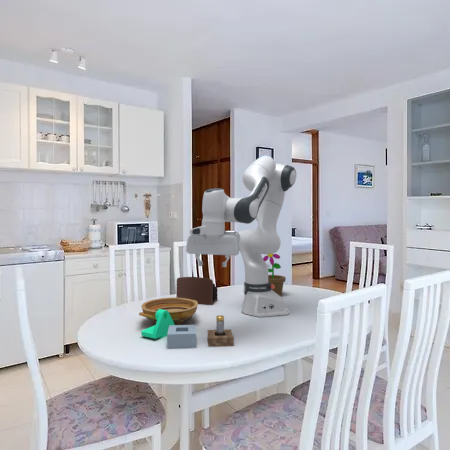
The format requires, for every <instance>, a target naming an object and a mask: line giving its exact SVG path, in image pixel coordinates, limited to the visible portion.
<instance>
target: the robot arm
mask: <svg viewBox="0 0 450 450" xmlns="http://www.w3.org/2000/svg"><path fill="white" fill-rule="evenodd" d="M296 180H297V171H296V168H295V167H294V166H292V165H289V164H284V163H283V164H282V163H276V161H275V159H274V158H273V157H271V156H269V155H262V156H259V157H258V158H257V159H255V160H254V161H253V162H252V163H251V164H250V165H249V166H248V167H247V168H246V169H245V171H244V172H243V174H242V183H243V185H244V187H245V188H246V189H247V190H248V191H250V194H249V195H248V196H246V197H245V196H243V197H230V196H228V195H227V194H226V193H225V190H224V189H223V188H220V187H218V188H209V189H205V191H204V193H203V197H202V202H201V203H202V205H201V206H202V207H201V211H202V219H201V226H199V225H198V226H197V227H194V228H191V229H189V236H188V237H187V240H186V250H185V251H186V253H187V254H189V255H192V254H193V255H195V256H194V257H195V259H196V261H197V266H199V267H202V266H203V264H204V263H203V262H204V261H203V260H201V259H200V257H201V255H210V256H211V255H212V256H215V255H216V256H224V257H225V259H226V260H225V261H222V263H221V265H222V266H221V267H222V268H227V263H228V261H229V260H230V257H231V256H238V255H239V253H240V254H241V257H242V261H243V264H244V283H243V293H244V295H243V296H244V298H243V303H242V307H241V313H243V314H245V315H250V316H252V317H253V316H254V317H256V318H263V317H264V318H265V317H277V316H288V315H289V314H290V309H289V308H288V307H286V306H285V301H284V299H283V297H282V296H279V295H278V294H277V293H275V292H274V291H273V290H272V289H274V288H275V286H274V284H271V283H270V282H268V275H269V272H268V269H269V266H268V264H267V262H266V261H265V262H264V260H263V258H264V257H263V256H262V255H267V254H277V252H279V249H280V248H281V238H280V235H279V234H278V232H277V223H278V219H279V216H280V213H281V210H282V208H283V204H284V200H285V194H286V192H287V191H288V190H289V189H290V188H292V187H293V186H294V184H295V183H296ZM254 221H256V222H257V227H256V229H244V230H239V231H238V232H237V231H236V230H225V229H226V227H225V223H226V222H227V223H240V224H245V225H247V224H251V223H253V222H254Z"/></svg>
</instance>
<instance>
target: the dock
mask: <svg viewBox="0 0 450 450" xmlns="http://www.w3.org/2000/svg"><path fill="white" fill-rule="evenodd" d="M166 337H167V338H166V339H167V343H166V344H167V346H166V347H167V348H166V349H191V348H193V349H194V348H197V340H196V339H197V325H196V324H180V325H169V329H168V334H167V336H166Z"/></svg>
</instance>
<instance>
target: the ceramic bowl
mask: <svg viewBox="0 0 450 450" xmlns="http://www.w3.org/2000/svg"><path fill="white" fill-rule="evenodd" d="M198 306H199V304H198V302H197V301H196V300H191V299H186V298H176V297H163V298H156V299H151V300H148V301H145V302H143V303H142V304H141V309H142V312H141V311H140V312H139V313H138V315H139V316H142V317H144V318H146V319H148V320H150V321H152V322H155V323H156V322H157V320H156V318H155V315H156V312H157V310H159V309H162V310H167V311H168V312H169V314H170V316H171V318H172V320H173V322H174V324H175V325H183V323H184V321H187V320H188V319H191V318H192V317H194V315H195V314H196V313H197V309H198Z"/></svg>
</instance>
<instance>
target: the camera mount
mask: <svg viewBox="0 0 450 450" xmlns="http://www.w3.org/2000/svg"><path fill="white" fill-rule="evenodd" d="M155 318H156V320H157V322H155V325H151V326H150V327H147V328H144V329H142V330H141V332H140V334H141V335H140V336H142V337H146V338H151V339H155V340H156V339H158V338H160V339H164V338H165V337H167V334H168V329H169V325H175V324H174V322H173V320H172V318H171V316H170V314H169V312H168V311H167V310H162V309H159V310H157V312H156V315H155Z"/></svg>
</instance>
